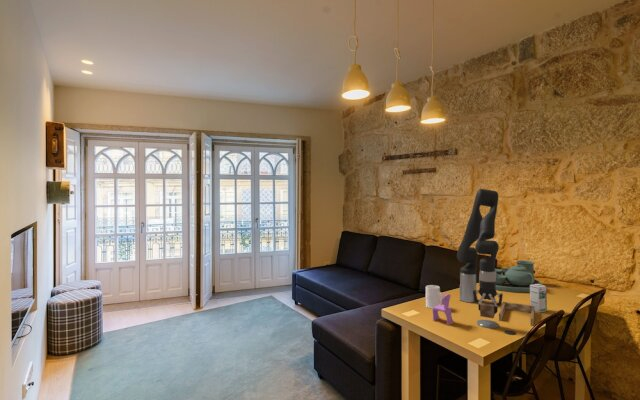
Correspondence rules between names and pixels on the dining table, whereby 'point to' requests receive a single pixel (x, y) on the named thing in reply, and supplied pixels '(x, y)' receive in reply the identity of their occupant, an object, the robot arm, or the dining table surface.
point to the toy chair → (443, 309)
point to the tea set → (516, 277)
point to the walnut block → (487, 309)
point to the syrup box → (538, 297)
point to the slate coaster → (487, 324)
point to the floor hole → (509, 332)
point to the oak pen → (519, 308)
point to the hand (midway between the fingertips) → (487, 312)
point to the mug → (433, 296)
